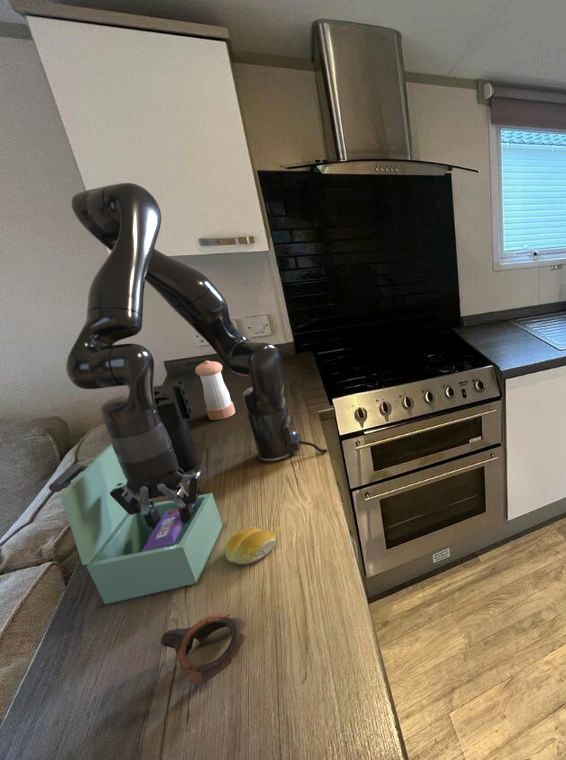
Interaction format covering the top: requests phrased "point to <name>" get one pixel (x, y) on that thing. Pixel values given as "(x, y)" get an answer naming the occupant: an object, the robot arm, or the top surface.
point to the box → (155, 554)
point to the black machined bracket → (176, 421)
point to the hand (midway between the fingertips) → (172, 522)
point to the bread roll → (249, 545)
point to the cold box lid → (91, 502)
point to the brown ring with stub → (200, 631)
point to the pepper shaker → (215, 391)
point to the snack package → (166, 530)
